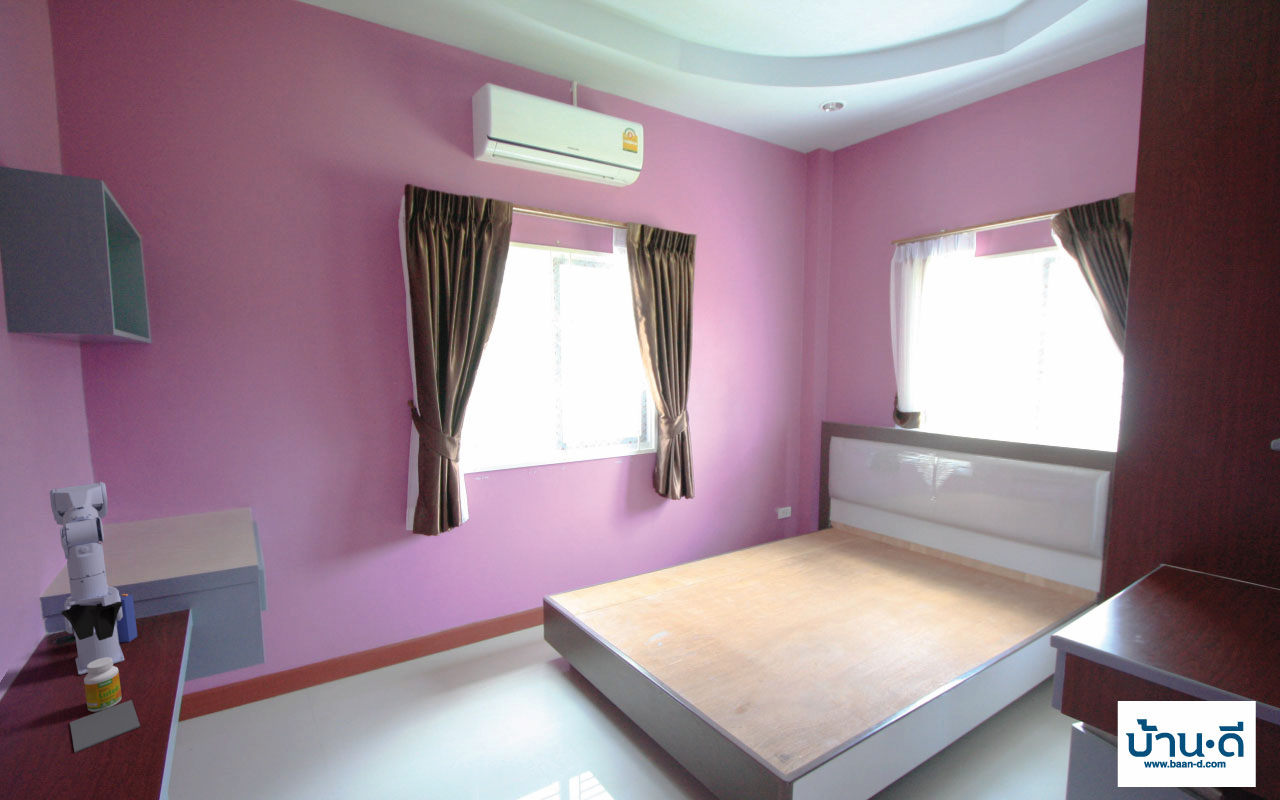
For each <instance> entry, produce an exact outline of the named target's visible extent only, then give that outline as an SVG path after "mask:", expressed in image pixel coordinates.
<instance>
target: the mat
mask: <svg viewBox="0 0 1280 800" xmlns="http://www.w3.org/2000/svg"><path fill="white" fill-rule="evenodd" d="M134 706H135V705H134V703H133V700H132V699H130V700H127V701H124V702H122V703H118V704H116V705H114V706H112V707H110V708H108V709H105V710H102V711H96V712H93V714H89V715H86V716H84V717H80V718H79V719H76V720H73V721H70V722H69V727H70V732H71V738H72V746H73V751H74V752H73V753H74V754H76V753H78V752H81V751H83V750H85V749H88V748H90V747H93V746H96V745H98V744H100V743H103V742H106V741H108V740H111V739H113V738H115V737H118V736H121V735H124V734H126V733H128V732H130V731H131V732H132V731H133V730H136V729H138V728H141V724H140V722H139V718H138V715H137V712H136V709H135V707H134Z"/></svg>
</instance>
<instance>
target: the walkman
mask: <svg viewBox="0 0 1280 800" xmlns="http://www.w3.org/2000/svg"><path fill="white" fill-rule="evenodd" d="M119 596H120V599H121V602H122V614H123V617H122V618H121V620H119V621H117V632H118V640H119V643H130V642H131V641H133V640H134V639H135V638H137V637H138V630H137V621H136V614H135V613H136V612H135V603H134V596H133V594H129V593H122V594H121V595H120V594H119Z"/></svg>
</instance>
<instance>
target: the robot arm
mask: <svg viewBox="0 0 1280 800" xmlns="http://www.w3.org/2000/svg"><path fill="white" fill-rule="evenodd" d="M49 500H50V507H51V512H52V514H53V518H54V521H56V525H60V528H59V536H60V543H61V547H62V549H63V553H64V557H65V560H66V566H67V573H68V574H67V575H68V579H69V580H68V581H69V582H68V583H69V589H70V596H69V597H66V598H65V599H66V600H65V602H64V603H63V605H64V606H63V607H64V608H63V609H64V610H62V611H60V612H61V615H62V616H63V617H64V625H65V631H66V633H67V634H70V635H71V634H73V636H74V637H75V643H76V650H77V657H76V658H75V663H76V669H77V674H78V675H84V674H88V672H87V665H88V664H89V663H91V662H92V661H95V660H97V659H100V658H105V657H110V658H112V660H113V665H114V664H118V663H122V662H124V661H125V657H124V653H123V651H122V647H121V645H120V642H119V640H118V632H117V621H119V620H121V618H122V617H123V614H122V602H121V599H120V596H119V595H120V591H119V589H117V588H116V587H114V586H110V585H109V584H108V578H107V571H106V569H107V568H106V561H105V555H104V547H103V544H104V542H105V535H104V533H105V532H104V526H103V521H102V519H103V518H105V517H107V515H108V511H109V510H108V503H109V502H108V494H107V487H106V483H105V482H103V481H99V482H95V483H94V482H93V483H87V484H82V485H75V486H68V487H67V486H66V487H60V488H52V489H51V490H50V491H49Z"/></svg>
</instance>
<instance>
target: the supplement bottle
mask: <svg viewBox="0 0 1280 800" xmlns="http://www.w3.org/2000/svg"><path fill="white" fill-rule="evenodd" d="M119 672H120V671H119V668H118V667H117V666H116V665H115V666H114V664H113V660H112V658H110V657H105V658H100V659H97V660H95V661H92V662H91V663H89V664H88V665H87V673H86V675H85V677H84V678H83V684H84V691H85V699H86V706H87V710H88V711H89V712H93V713H97V712H100V711H102V710H105V709H108V708H111V707H113V706H116V705H118V704H119V703H120V702H121V700H122V697H123V696H122V688H121V681H120V673H119Z"/></svg>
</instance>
